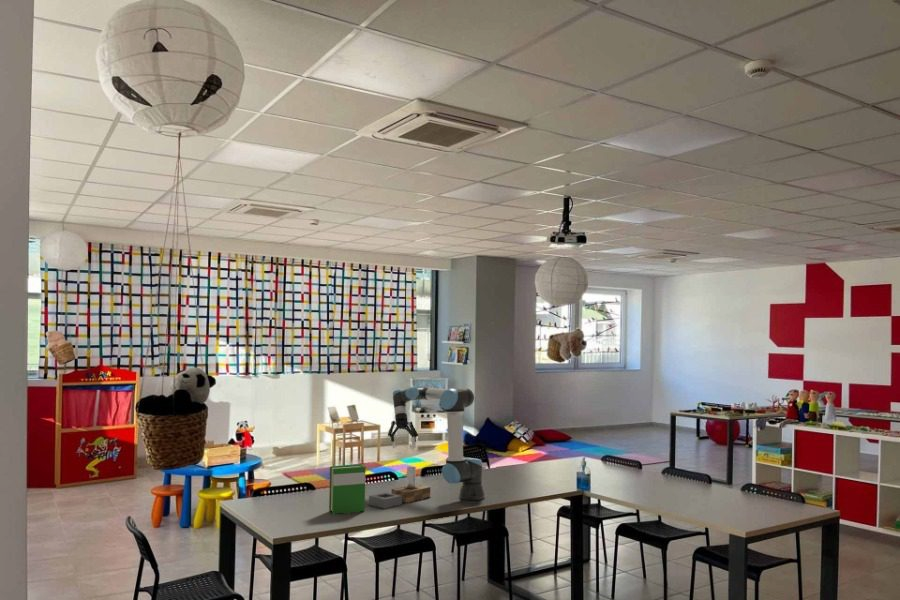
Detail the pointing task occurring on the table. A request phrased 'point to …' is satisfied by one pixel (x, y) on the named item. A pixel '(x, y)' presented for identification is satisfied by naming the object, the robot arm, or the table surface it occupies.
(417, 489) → the tan hollow box
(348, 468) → the hardback book
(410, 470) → the translucent white cylinder
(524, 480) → the table surface
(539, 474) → the table surface
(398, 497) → the socket
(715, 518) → the table surface
